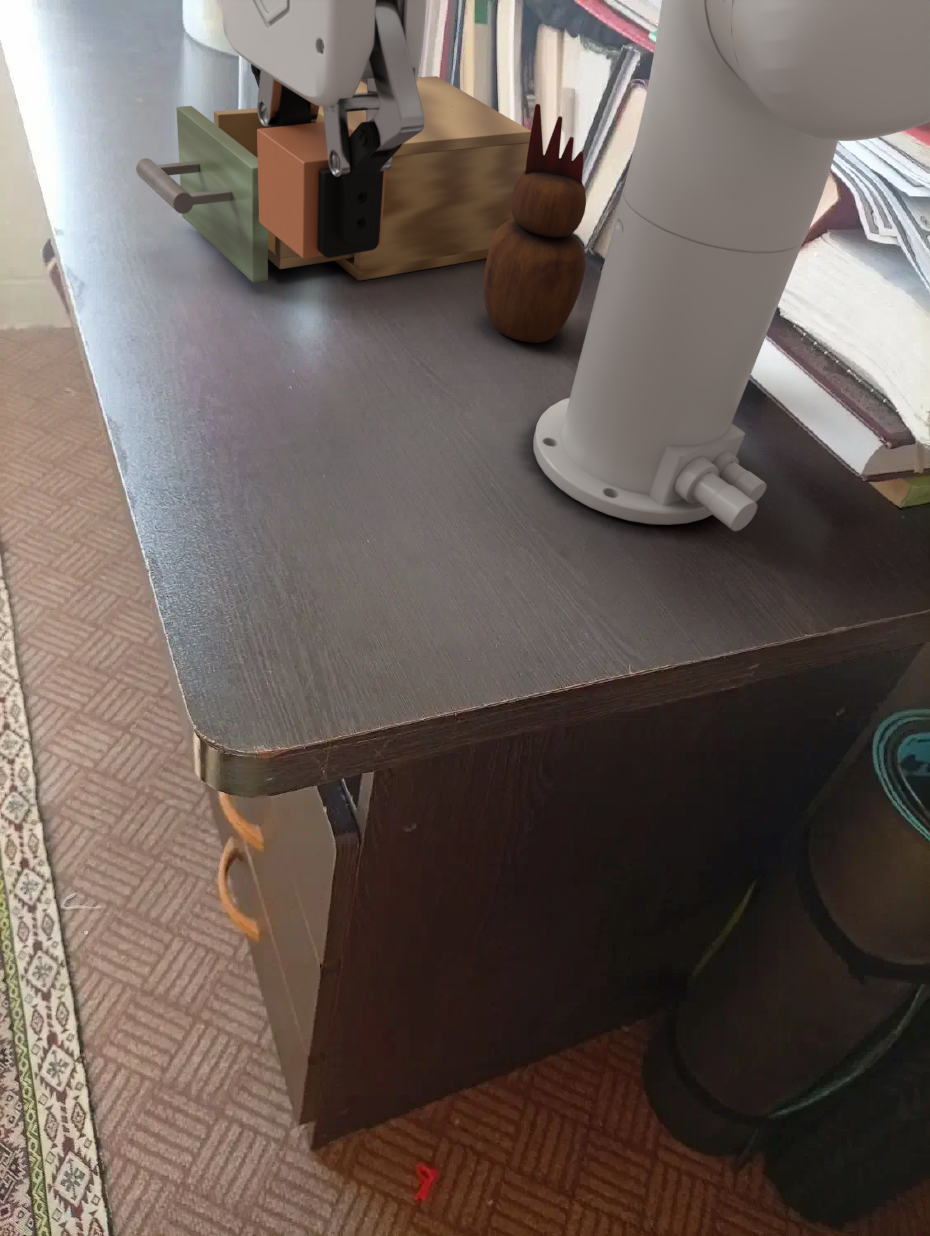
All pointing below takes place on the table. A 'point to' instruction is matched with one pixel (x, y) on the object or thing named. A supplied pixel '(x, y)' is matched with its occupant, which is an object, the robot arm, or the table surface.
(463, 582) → the table surface
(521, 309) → the wooden figurine
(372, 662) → the table surface
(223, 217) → the drawer
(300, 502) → the table surface
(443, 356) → the table surface
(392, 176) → the cabinet
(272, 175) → the block
